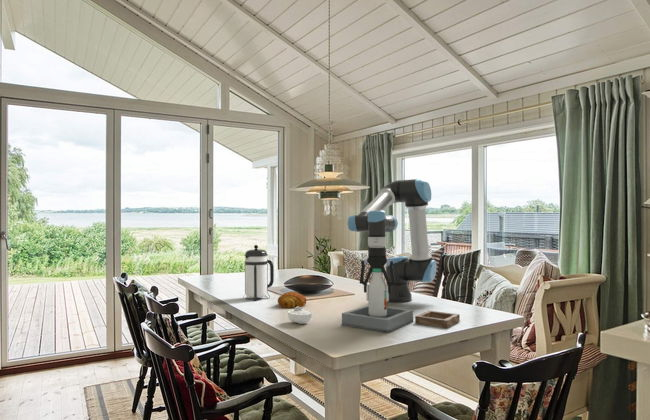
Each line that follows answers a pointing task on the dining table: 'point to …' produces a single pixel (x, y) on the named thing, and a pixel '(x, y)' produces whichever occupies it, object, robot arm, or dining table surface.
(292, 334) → the dining table surface
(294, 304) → the croissant
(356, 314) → the charcoal tray
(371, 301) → the milk bottle
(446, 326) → the wooden square tray
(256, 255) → the coffee press
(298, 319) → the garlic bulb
